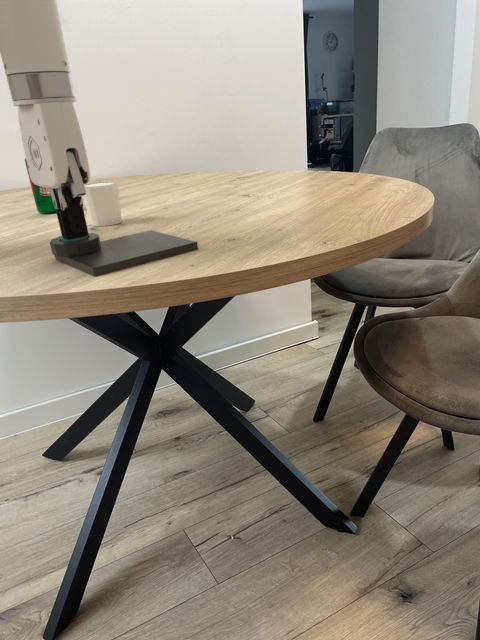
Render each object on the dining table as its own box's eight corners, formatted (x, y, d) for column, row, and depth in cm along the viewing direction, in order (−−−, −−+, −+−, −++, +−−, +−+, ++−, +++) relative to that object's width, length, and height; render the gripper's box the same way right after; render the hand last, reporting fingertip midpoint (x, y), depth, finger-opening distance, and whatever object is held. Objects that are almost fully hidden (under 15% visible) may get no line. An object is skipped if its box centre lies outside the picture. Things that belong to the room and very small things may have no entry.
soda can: (47, 215, 108) (32, 154, 103) (32, 213, 110) (18, 154, 105) (67, 210, 112) (54, 151, 106) (52, 209, 114) (39, 151, 109)
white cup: (109, 217, 101) (102, 180, 97) (132, 220, 97) (126, 182, 94) (79, 225, 96) (71, 186, 93) (103, 228, 92) (95, 187, 89)
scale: (89, 278, 64) (83, 255, 63) (48, 260, 74) (43, 239, 72) (198, 249, 74) (195, 229, 73) (149, 236, 83) (146, 218, 82)
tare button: (69, 254, 70) (67, 241, 70) (59, 250, 73) (56, 237, 72) (94, 248, 72) (91, 236, 72) (83, 244, 75) (81, 232, 74)
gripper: (-7, 96, 67) (30, 235, 75) (33, 88, 57) (71, 251, 65) (50, 93, 71) (79, 225, 79) (96, 86, 61) (125, 238, 69)
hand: (75, 236), depth 72 cm, fingers closed
